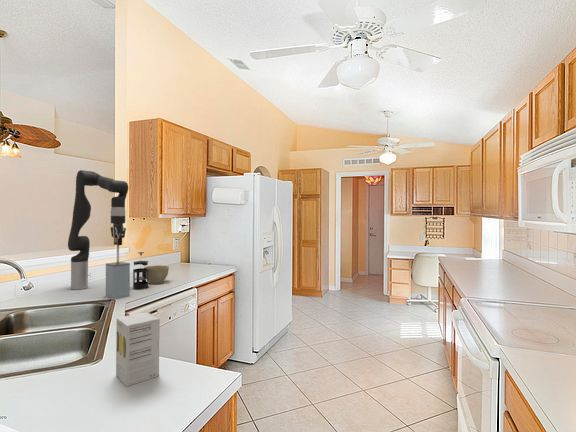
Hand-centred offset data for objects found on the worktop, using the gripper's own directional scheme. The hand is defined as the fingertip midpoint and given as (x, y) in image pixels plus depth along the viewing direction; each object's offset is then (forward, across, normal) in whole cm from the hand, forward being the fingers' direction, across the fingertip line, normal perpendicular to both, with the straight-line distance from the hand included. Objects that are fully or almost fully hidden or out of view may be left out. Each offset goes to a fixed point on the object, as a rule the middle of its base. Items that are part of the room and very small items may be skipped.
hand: (117, 244), depth 187 cm
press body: (+30, 0, 0) cm, 30 cm away
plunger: (+20, 0, 0) cm, 20 cm away
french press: (+30, -11, +20) cm, 38 cm away
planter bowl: (+30, -18, +35) cm, 49 cm away
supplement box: (+30, +99, -41) cm, 111 cm away
